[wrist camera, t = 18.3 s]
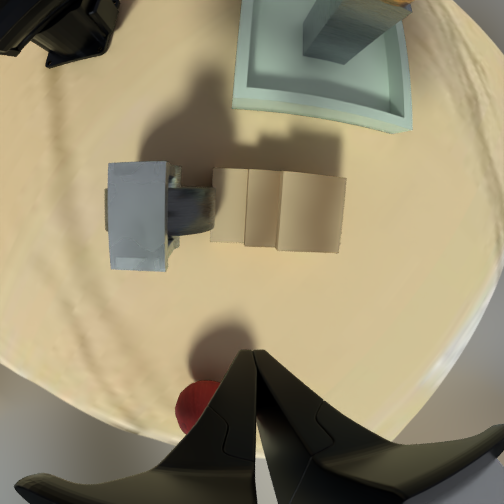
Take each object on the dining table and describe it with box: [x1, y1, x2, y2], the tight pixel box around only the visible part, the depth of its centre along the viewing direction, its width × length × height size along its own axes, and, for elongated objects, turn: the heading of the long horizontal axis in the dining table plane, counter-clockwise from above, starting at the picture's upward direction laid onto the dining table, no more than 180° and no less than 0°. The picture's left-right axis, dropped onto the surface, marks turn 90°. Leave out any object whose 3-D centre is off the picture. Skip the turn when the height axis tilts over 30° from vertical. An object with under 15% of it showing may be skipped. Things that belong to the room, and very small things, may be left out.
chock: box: [210, 168, 346, 253], centre depth 19 cm, size 8×5×4 cm, turn 86°
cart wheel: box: [105, 161, 216, 272], centre depth 16 cm, size 7×5×8 cm
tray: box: [232, 0, 412, 134], centre depth 16 cm, size 14×14×3 cm
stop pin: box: [303, 0, 414, 65], centre depth 12 cm, size 4×4×11 cm
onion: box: [175, 380, 220, 435], centre depth 21 cm, size 6×6×8 cm
